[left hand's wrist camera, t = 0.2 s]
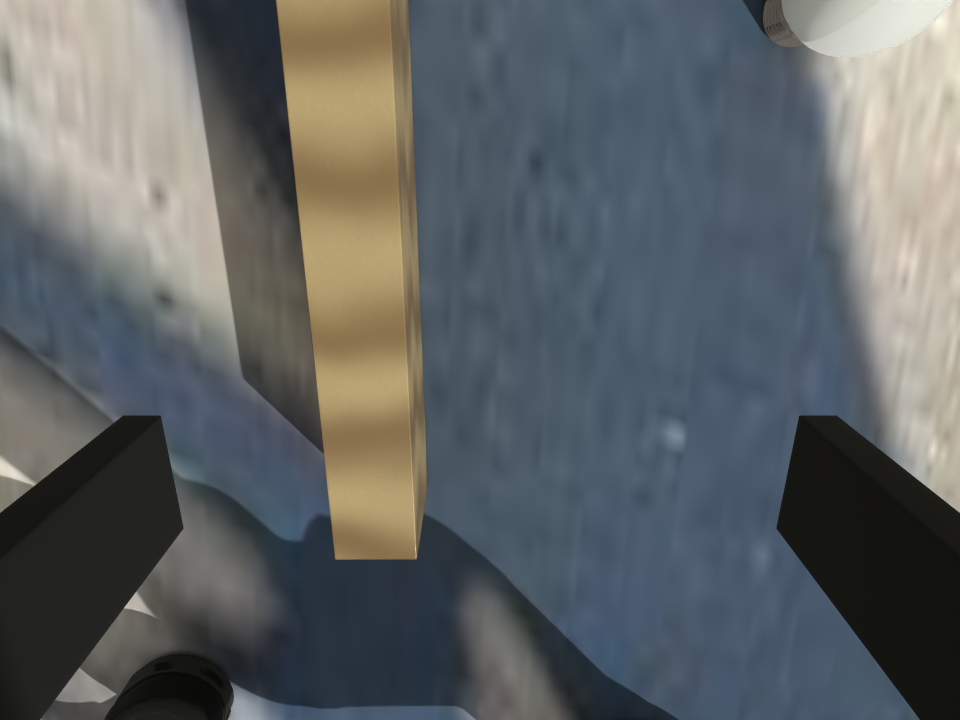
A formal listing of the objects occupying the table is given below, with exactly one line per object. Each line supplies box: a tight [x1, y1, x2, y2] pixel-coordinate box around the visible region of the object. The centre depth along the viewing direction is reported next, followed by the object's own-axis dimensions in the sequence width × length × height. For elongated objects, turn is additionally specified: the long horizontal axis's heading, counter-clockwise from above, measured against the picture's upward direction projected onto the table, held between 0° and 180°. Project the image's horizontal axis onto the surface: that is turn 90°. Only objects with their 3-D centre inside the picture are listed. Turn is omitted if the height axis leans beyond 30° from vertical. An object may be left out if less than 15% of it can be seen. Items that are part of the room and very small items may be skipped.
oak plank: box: [276, 0, 427, 559], centre depth 33 cm, size 44×5×8 cm, turn 0°
